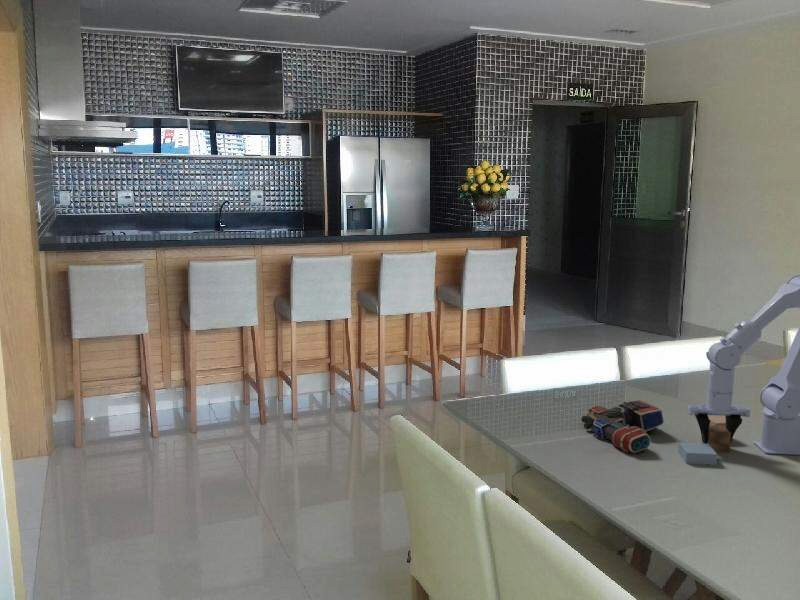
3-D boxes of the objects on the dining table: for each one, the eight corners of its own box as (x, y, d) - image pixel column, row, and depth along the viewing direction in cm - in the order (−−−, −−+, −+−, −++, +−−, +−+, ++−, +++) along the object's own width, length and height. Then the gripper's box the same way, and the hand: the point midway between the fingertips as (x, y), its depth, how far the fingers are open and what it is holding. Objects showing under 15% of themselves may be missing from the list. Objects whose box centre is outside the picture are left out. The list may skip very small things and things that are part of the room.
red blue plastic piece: (624, 438, 173) (692, 412, 178) (570, 410, 197) (631, 388, 202) (629, 468, 175) (696, 441, 180) (576, 436, 199) (636, 414, 204)
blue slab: (707, 455, 176) (708, 444, 176) (716, 466, 170) (717, 454, 169) (678, 454, 177) (678, 442, 177) (685, 464, 170) (686, 452, 170)
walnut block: (722, 444, 183) (723, 426, 182) (729, 452, 178) (730, 432, 177) (702, 444, 183) (703, 425, 182) (708, 451, 178) (710, 432, 178)
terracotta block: (720, 434, 191) (721, 416, 190) (731, 440, 186) (733, 422, 185) (702, 435, 190) (704, 417, 189) (714, 441, 185) (715, 423, 184)
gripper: (744, 387, 181) (739, 438, 184) (685, 385, 183) (681, 436, 185) (755, 395, 174) (750, 448, 177) (694, 393, 176) (690, 445, 178)
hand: (716, 442), depth 180 cm, fingers closed on walnut block, 5 cm apart
